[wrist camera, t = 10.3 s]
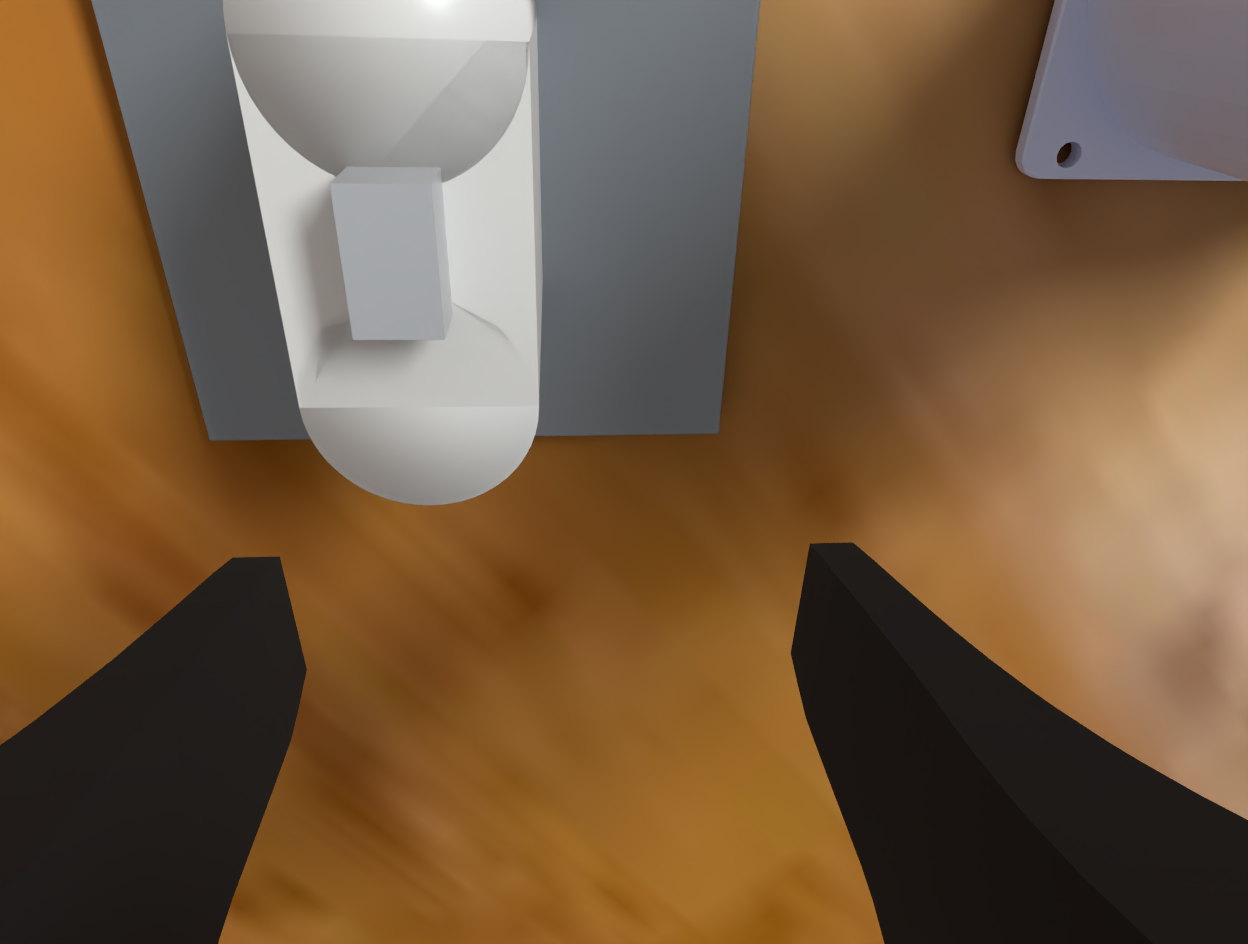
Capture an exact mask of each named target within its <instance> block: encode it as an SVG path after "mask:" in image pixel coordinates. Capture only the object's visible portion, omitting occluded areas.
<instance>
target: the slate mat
mask: <svg viewBox="0 0 1248 944" xmlns="http://www.w3.org/2000/svg"><path fill="white" fill-rule="evenodd" d="M91 1H92V5H93V8H94V12H95V16H96V20H97V23H98V27H99V31H100V34H101V38H102V42H103V46H104V49H105V53H106V57H107V60H108V64H109V68H110V72H111V75H112V79H113V83H114V86H115V90H116V94H117V98H118V101H119V105H120V109H121V112H122V116H123V120H124V124H125V127H126V131H127V135H128V138H129V142H130V146H131V150H132V153H133V157H134V161H135V164H136V168H137V172H138V176H139V179H140V183H141V187H142V190H143V194H144V198H145V202H146V205H147V209H148V213H149V216H150V220H151V224H152V228H153V231H154V235H155V239H156V242H157V246H158V250H159V254H160V257H161V261H162V265H163V269H164V272H165V276H166V280H167V283H168V287H169V291H170V295H171V298H172V302H173V306H174V309H175V313H176V317H177V321H178V324H179V328H180V332H181V335H182V339H183V343H184V347H185V350H186V354H187V358H188V361H189V365H190V369H191V373H192V376H193V380H194V384H195V387H196V391H197V395H198V399H199V402H200V406H201V410H202V413H203V417H204V421H205V425H206V428H207V432H208V436H209V439H210V441H223V440H295V439H311V438H310V436H309V435H308V432H307V430H306V428H305V425H304V423H303V420H302V416H301V413H300V409H299V404H298V399H297V394H296V389H295V384H294V378H293V373H292V368H291V363H290V358H289V353H288V348H287V343H286V337H285V332H284V327H283V322H282V317H281V312H280V307H279V302H278V296H277V291H276V286H275V281H274V276H273V271H272V266H271V261H270V255H269V250H268V245H267V240H266V235H265V230H264V225H263V220H262V214H261V209H260V204H259V199H258V194H257V189H256V184H255V179H254V173H253V168H252V163H251V158H250V153H249V148H248V143H247V138H246V132H245V127H244V122H243V117H242V112H241V107H240V102H239V96H238V91H237V86H236V81H235V76H234V71H233V66H232V61H231V55H230V50H229V45H228V40H227V35H226V28H225V21H224V14H223V0H91ZM535 2H536V13H537V47H538V93H539V138H540V183H541V228H542V273H543V287H542V321H541V355H540V389H539V417H538V424H537V429H536V434H535V436H584V435H656V434H719V424H720V413H721V403H722V393H723V382H724V372H725V361H726V351H727V341H728V330H729V320H730V310H731V299H732V289H733V278H734V268H735V258H736V247H737V237H738V226H739V216H740V206H741V195H742V185H743V174H744V164H745V154H746V143H747V133H748V122H749V112H750V102H751V91H752V81H753V70H754V60H755V50H756V39H757V29H758V18H759V8H760V0H535Z"/></svg>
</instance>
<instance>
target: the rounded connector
mask: <svg viewBox="0 0 1248 944" xmlns="http://www.w3.org/2000/svg"><path fill="white" fill-rule="evenodd" d="M223 14H224V21H225V28H226V35H227V40H228V45H229V50H230V55H231V61H232V66H233V71H234V76H235V81H236V86H237V91H238V96H239V102H240V107H241V112H242V117H243V122H244V127H245V132H246V138H247V143H248V148H249V153H250V158H251V163H252V168H253V173H254V179H255V184H256V189H257V194H258V199H259V204H260V209H261V214H262V220H263V225H264V230H265V235H266V240H267V245H268V250H269V255H270V261H271V266H272V271H273V276H274V281H275V286H276V291H277V296H278V302H279V307H280V312H281V317H282V322H283V327H284V332H285V337H286V343H287V348H288V353H289V358H290V363H291V368H292V373H293V378H294V384H295V389H296V394H297V399H298V404H299V409H300V413H301V416H302V420H303V423H304V425H305V428H306V430H307V432H308V435H309V436H310V438H311V440H312V442H313V443H314V445H315V447H316V448H317V449H318V451H319V452H320V453H321V455H322V456H323V457H324V458H325V460H326V461H327V462H328V463H329V464H330V465H331V466H332V467H333V468H334V469H335V470H336V471H338V472H339V473H340V474H341V475H343V476H344V477H345V478H346V479H348V480H349V481H351V482H352V483H354V484H356V485H357V486H359V487H360V488H362V489H364V490H366V491H368V492H371V493H373V494H375V495H378V496H380V497H383V498H386V499H389V500H393V501H397V502H401V503H407V504H414V505H444V504H451V503H456V502H461V501H464V500H467V499H471V498H474V497H476V496H478V495H481V494H483V493H485V492H487V491H489V490H490V489H492V488H494V487H495V486H497V485H498V484H500V483H501V482H502V481H504V480H505V479H506V478H507V477H509V476H510V475H511V473H512V472H513V471H514V470H515V469H516V468H517V467H518V466H519V465H520V463H521V462H522V460H523V459H524V458H525V456H526V454H527V452H528V451H529V449H530V447H531V445H532V442H533V439H534V436H535V434H536V429H537V424H538V417H539V389H540V355H541V321H542V287H543V273H542V228H541V183H540V138H539V93H538V47H537V13H536V2H535V0H223Z"/></svg>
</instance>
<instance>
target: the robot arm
mask: <svg viewBox="0 0 1248 944" xmlns="http://www.w3.org/2000/svg"><path fill="white" fill-rule="evenodd" d="M1069 142H1070V143H1071V145H1072V146H1071V153H1070V155H1069V157H1068V158H1067V159H1066V160H1065V161H1064V162H1063V163H1060V164H1058V163H1057V154H1058V152H1059V150H1060V148H1061V147H1063V146H1064V145H1065V144H1066V143H1069ZM1015 161H1016V164H1017V167H1018V169H1019V170H1020V171H1021V172H1022V173H1023V174H1025V175H1027V176H1030V177H1033V178H1037V179H1104V180H1200V181H1248V0H1055V1H1054V5H1053V9H1052V13H1051V17H1050V21H1049V25H1048V29H1047V33H1046V36H1045V40H1044V44H1043V48H1042V52H1041V56H1040V60H1039V64H1038V68H1037V71H1036V75H1035V79H1034V83H1033V87H1032V91H1031V95H1030V99H1029V103H1028V106H1027V110H1026V114H1025V118H1024V122H1023V126H1022V130H1021V134H1020V138H1019V141H1018V145H1017V149H1016V157H1015ZM791 656H792V660H793V665H794V669H795V674H796V678H797V683H798V687H799V691H800V695H801V699H802V703H803V707H804V712H805V716H806V719H807V722H808V725H809V727H810V730H811V733H812V736H813V738H814V741H815V744H816V747H817V749H818V752H819V755H820V757H821V760H822V763H823V765H824V768H825V771H826V773H827V776H828V779H829V781H830V784H831V787H832V789H833V792H834V795H835V797H836V800H837V802H838V805H839V808H840V810H841V813H842V816H843V818H844V821H845V824H846V826H847V829H848V831H849V834H850V837H851V839H852V842H853V845H854V847H855V850H856V853H857V855H858V858H859V860H860V863H861V866H862V869H863V872H864V875H865V878H866V881H867V884H868V887H869V890H870V893H871V896H872V899H873V903H874V906H875V910H876V914H877V917H878V921H879V925H880V928H881V932H882V936H883V939H884V943H885V944H1248V820H1246V819H1244V818H1243V817H1241V816H1239V815H1237V814H1235V813H1233V812H1231V811H1229V810H1227V809H1225V808H1223V807H1222V806H1220V805H1218V804H1216V803H1214V802H1212V801H1210V800H1208V799H1206V798H1204V797H1202V796H1201V795H1199V794H1197V793H1195V792H1193V791H1192V790H1190V789H1188V788H1186V787H1184V786H1183V785H1181V784H1179V783H1177V782H1176V781H1174V780H1172V779H1170V778H1169V777H1167V776H1165V775H1163V774H1162V773H1160V772H1158V771H1156V770H1155V769H1153V768H1151V767H1149V766H1147V765H1146V764H1144V763H1142V762H1140V761H1139V760H1137V759H1135V758H1134V757H1132V756H1130V755H1129V754H1127V753H1125V752H1124V751H1122V750H1120V749H1119V748H1117V747H1116V746H1114V745H1112V744H1111V743H1109V742H1107V741H1106V740H1104V739H1103V738H1101V737H1100V736H1098V735H1097V734H1095V733H1094V732H1092V731H1090V730H1089V729H1087V728H1086V727H1084V726H1083V725H1081V724H1080V723H1078V722H1077V721H1075V720H1074V719H1072V718H1071V717H1069V716H1068V715H1066V714H1065V713H1063V712H1062V711H1060V710H1058V709H1057V708H1055V707H1054V706H1053V705H1051V704H1050V703H1048V702H1047V701H1045V700H1044V699H1043V698H1041V697H1040V696H1038V695H1037V694H1035V693H1034V692H1033V691H1031V690H1030V689H1029V688H1027V687H1026V686H1025V685H1023V684H1022V683H1021V682H1019V681H1018V680H1017V679H1015V678H1014V677H1013V676H1011V675H1010V674H1009V673H1007V672H1006V671H1005V670H1003V669H1002V668H1001V667H999V666H998V665H997V664H995V663H994V662H993V661H991V660H990V659H989V658H988V657H986V656H985V655H984V654H983V653H981V652H980V651H979V650H978V649H976V648H975V647H974V646H973V645H971V644H970V643H969V642H968V641H966V640H965V639H964V638H963V637H961V636H960V635H959V634H958V633H957V632H955V631H954V630H953V629H952V628H951V627H949V626H948V625H947V624H946V623H945V622H943V621H942V620H941V619H940V618H939V617H938V616H936V615H935V614H934V613H933V612H932V611H931V610H929V609H928V608H927V607H926V606H925V605H924V604H923V603H921V602H920V601H919V600H918V599H917V598H916V597H915V596H913V595H912V594H911V593H910V592H909V591H908V590H907V589H905V588H904V587H903V586H902V585H901V584H900V583H899V582H898V581H896V580H895V579H894V578H893V577H892V576H891V575H890V574H889V573H887V572H886V571H885V570H884V569H883V568H882V567H881V566H880V565H878V564H877V563H876V562H875V561H874V560H873V559H872V558H870V557H869V556H868V555H867V554H866V553H865V552H863V551H862V550H861V549H860V548H859V547H857V546H856V545H855V544H854V543H818V544H810V547H809V552H808V558H807V564H806V570H805V575H804V581H803V587H802V592H801V598H800V604H799V609H798V615H797V621H796V627H795V632H794V638H793V644H792V649H791ZM306 670H307V669H306V665H305V661H304V656H303V652H302V648H301V644H300V640H299V636H298V631H297V627H296V623H295V619H294V615H293V610H292V606H291V602H290V598H289V594H288V590H287V585H286V581H285V577H284V573H283V569H282V564H281V560H280V557H245V558H232V559H230V560H229V561H228V562H227V563H225V564H224V565H223V566H222V567H220V568H219V569H218V570H217V571H216V572H214V573H213V574H212V575H211V576H210V577H209V578H207V579H206V580H205V581H204V582H203V583H202V584H200V585H199V586H198V587H197V588H196V589H195V590H194V591H192V592H191V593H190V594H189V595H188V596H187V597H186V598H184V599H183V600H182V601H181V602H180V603H179V604H178V605H176V606H175V607H174V608H173V609H172V610H171V611H169V612H168V613H167V614H166V615H165V616H164V617H163V618H161V619H160V620H159V621H158V622H157V623H155V624H154V625H153V626H152V627H151V628H150V629H148V630H147V631H146V632H145V633H144V634H143V635H141V636H140V637H139V638H138V639H137V640H135V641H134V642H133V643H132V644H131V645H130V646H128V647H127V648H126V649H125V650H124V651H122V652H121V653H120V654H119V655H118V656H117V657H115V658H114V659H113V660H112V661H110V662H109V663H108V664H107V665H105V666H104V667H103V668H102V669H100V670H99V671H98V672H97V673H95V674H94V675H93V676H91V677H90V678H89V679H88V680H86V681H85V682H84V683H82V684H81V685H80V686H79V687H77V688H76V689H75V690H73V691H72V692H71V693H70V694H68V695H67V696H66V697H64V698H63V699H62V700H61V701H59V702H58V703H57V704H55V705H54V706H53V707H52V708H50V709H49V710H48V711H46V712H45V713H44V714H43V715H41V716H40V717H39V718H38V719H36V720H35V721H33V722H32V723H31V724H29V725H28V726H27V727H25V728H24V729H22V730H21V731H20V732H18V733H17V734H16V735H14V736H13V737H11V738H10V739H8V740H7V741H6V742H4V743H3V744H1V745H0V944H218V942H219V938H220V935H221V932H222V929H223V926H224V923H225V919H226V916H227V913H228V910H229V907H230V904H231V901H232V898H233V896H234V893H235V890H236V887H237V885H238V882H239V879H240V877H241V874H242V871H243V869H244V866H245V863H246V861H247V858H248V855H249V853H250V850H251V847H252V845H253V842H254V839H255V836H256V834H257V831H258V828H259V826H260V823H261V820H262V818H263V815H264V812H265V810H266V807H267V804H268V802H269V799H270V796H271V794H272V791H273V788H274V785H275V783H276V780H277V777H278V774H279V772H280V769H281V766H282V763H283V761H284V758H285V755H286V752H287V749H288V746H289V744H290V741H291V737H292V733H293V729H294V725H295V721H296V717H297V712H298V708H299V703H300V699H301V694H302V689H303V685H304V680H305V675H306Z"/></svg>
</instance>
